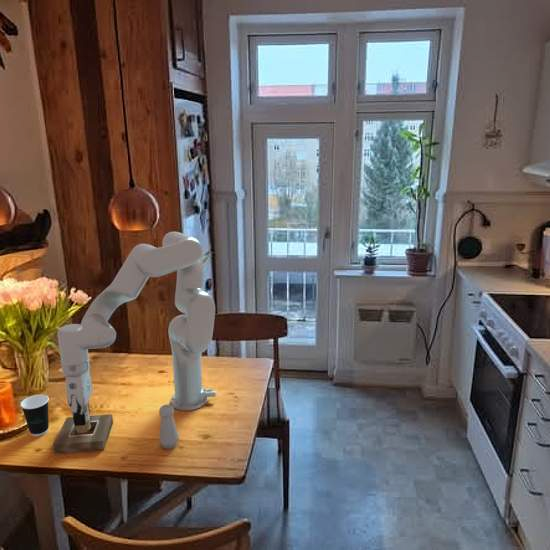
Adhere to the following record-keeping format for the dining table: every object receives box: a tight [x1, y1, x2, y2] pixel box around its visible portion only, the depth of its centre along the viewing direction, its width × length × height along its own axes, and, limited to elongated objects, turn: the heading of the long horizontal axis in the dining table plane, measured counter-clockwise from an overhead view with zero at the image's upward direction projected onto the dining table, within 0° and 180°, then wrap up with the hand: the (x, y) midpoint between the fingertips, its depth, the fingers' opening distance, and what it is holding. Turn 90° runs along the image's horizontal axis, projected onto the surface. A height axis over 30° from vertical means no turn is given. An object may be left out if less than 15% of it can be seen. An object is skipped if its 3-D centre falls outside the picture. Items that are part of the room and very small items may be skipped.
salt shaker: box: [158, 404, 179, 450], centre depth 142 cm, size 6×6×13 cm
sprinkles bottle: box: [75, 402, 91, 434], centre depth 144 cm, size 5×5×13 cm
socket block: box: [52, 413, 114, 455], centre depth 146 cm, size 14×14×3 cm
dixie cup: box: [19, 394, 50, 438], centre depth 148 cm, size 8×8×11 cm
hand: (82, 419), depth 145 cm, fingers closed on sprinkles bottle, 4 cm apart
